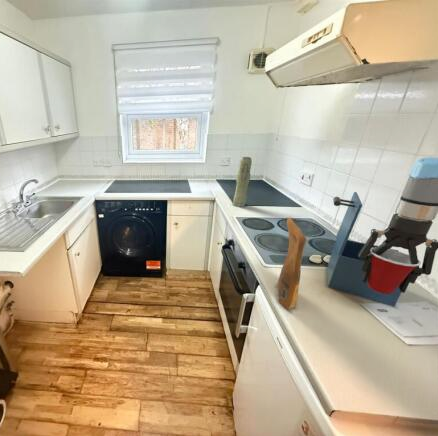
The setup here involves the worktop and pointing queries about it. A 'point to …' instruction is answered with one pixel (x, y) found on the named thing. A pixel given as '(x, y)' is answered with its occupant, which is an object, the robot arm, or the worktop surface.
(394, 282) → the plastic cup
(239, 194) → the olive green rough post
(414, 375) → the worktop surface
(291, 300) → the pancake mix bag
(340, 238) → the lid
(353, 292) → the blue hollow box
